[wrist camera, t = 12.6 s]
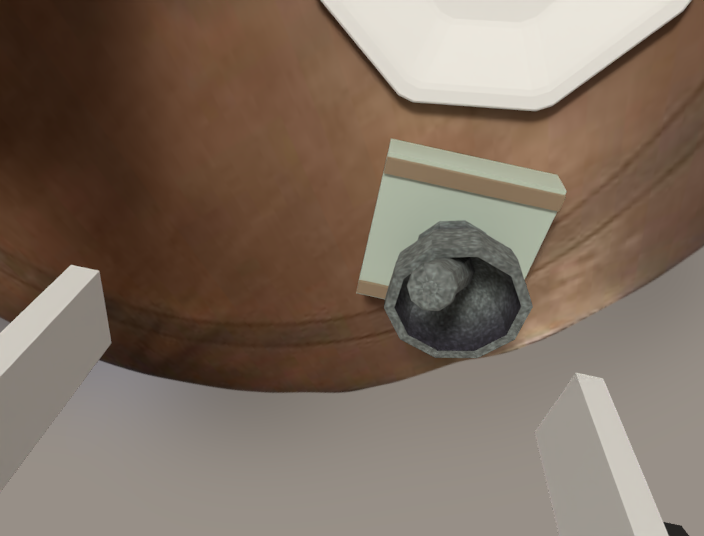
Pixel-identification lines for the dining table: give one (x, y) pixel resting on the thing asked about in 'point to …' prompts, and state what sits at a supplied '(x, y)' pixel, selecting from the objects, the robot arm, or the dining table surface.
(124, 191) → the dining table surface
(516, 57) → the plate
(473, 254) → the mortar and pestle
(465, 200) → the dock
